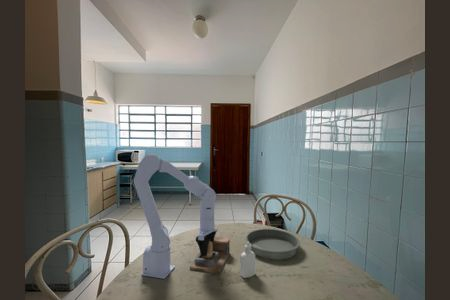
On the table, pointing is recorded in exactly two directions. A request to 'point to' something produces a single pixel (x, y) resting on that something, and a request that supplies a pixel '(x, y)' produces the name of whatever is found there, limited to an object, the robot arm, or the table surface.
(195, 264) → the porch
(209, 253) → the peg
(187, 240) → the table surface
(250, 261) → the eye dropper bottle
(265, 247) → the cake pan
